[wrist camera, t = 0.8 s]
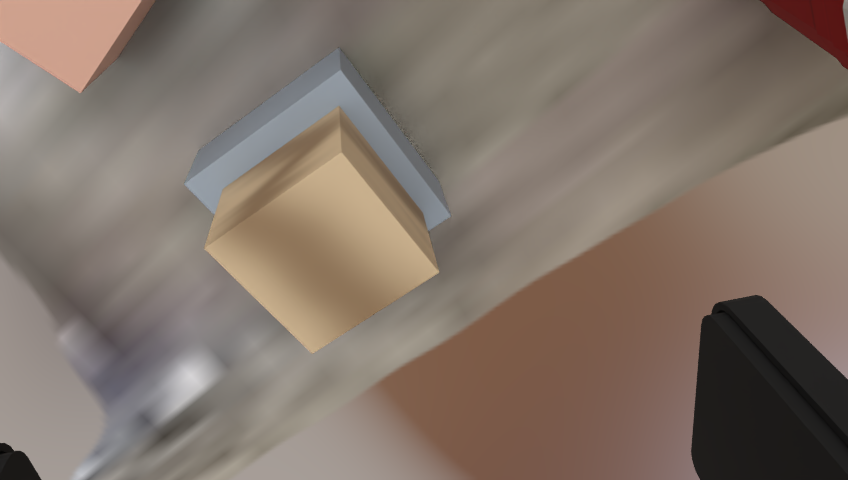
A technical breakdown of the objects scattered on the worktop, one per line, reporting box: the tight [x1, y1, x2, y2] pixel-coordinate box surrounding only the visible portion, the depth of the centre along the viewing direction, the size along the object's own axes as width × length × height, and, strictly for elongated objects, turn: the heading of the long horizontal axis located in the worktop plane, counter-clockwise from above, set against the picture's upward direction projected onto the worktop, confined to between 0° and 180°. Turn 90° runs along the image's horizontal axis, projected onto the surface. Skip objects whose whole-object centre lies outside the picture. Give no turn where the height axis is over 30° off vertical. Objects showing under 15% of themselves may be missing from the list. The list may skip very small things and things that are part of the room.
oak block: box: [204, 106, 439, 354], centre depth 27 cm, size 6×6×5 cm
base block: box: [184, 47, 451, 231], centre depth 31 cm, size 8×8×4 cm
